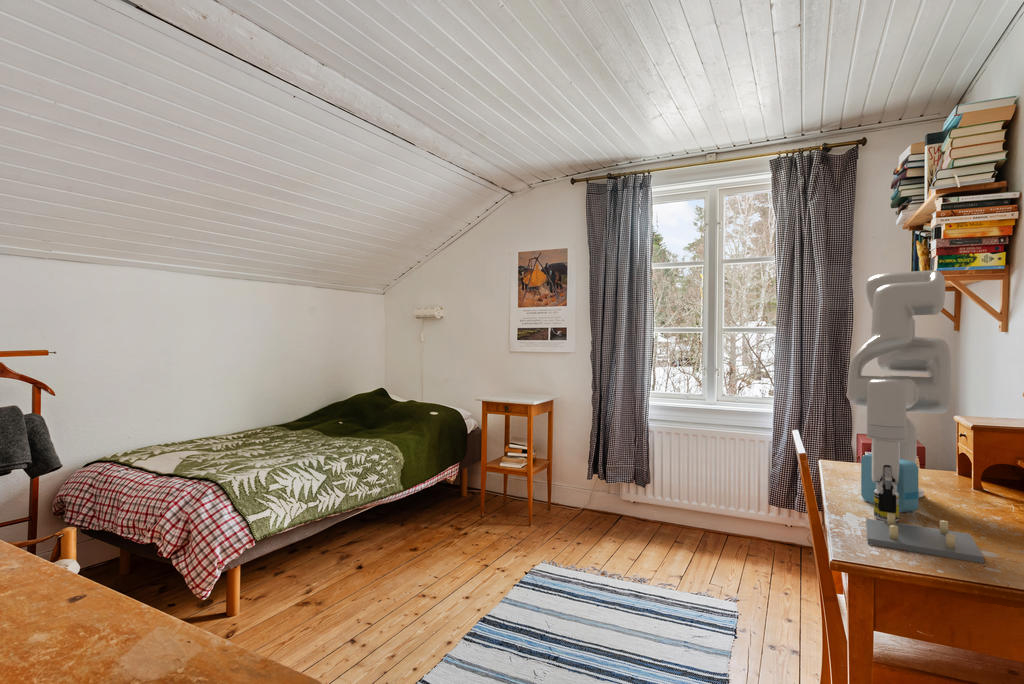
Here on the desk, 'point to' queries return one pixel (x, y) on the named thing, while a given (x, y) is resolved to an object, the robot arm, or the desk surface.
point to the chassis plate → (923, 539)
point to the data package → (905, 485)
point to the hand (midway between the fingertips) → (886, 506)
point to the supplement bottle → (877, 513)
